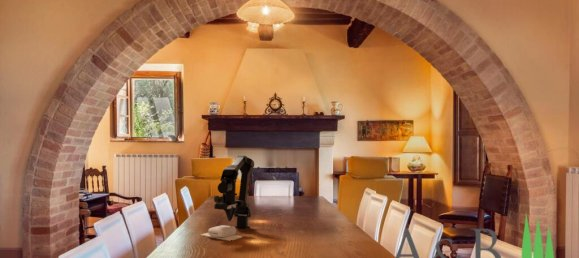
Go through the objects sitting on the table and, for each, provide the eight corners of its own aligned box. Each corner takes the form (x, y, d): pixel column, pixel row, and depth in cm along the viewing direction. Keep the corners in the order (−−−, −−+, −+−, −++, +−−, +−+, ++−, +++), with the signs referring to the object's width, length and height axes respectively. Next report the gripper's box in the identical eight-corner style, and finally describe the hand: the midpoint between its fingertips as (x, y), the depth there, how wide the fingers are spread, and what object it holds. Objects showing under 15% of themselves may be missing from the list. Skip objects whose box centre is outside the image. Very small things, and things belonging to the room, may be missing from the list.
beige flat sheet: (212, 232, 240) (212, 231, 240) (242, 237, 229) (242, 236, 229) (200, 235, 232) (200, 234, 232) (230, 240, 222) (230, 239, 222)
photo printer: (236, 226, 233) (221, 230, 223) (236, 234, 233) (221, 239, 222) (221, 224, 238) (205, 228, 228) (221, 232, 238) (205, 236, 228)
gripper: (229, 189, 249) (229, 217, 248) (206, 191, 233) (206, 221, 233) (245, 190, 243) (244, 219, 243) (223, 193, 227) (222, 224, 227)
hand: (229, 221), depth 236 cm, fingers closed
